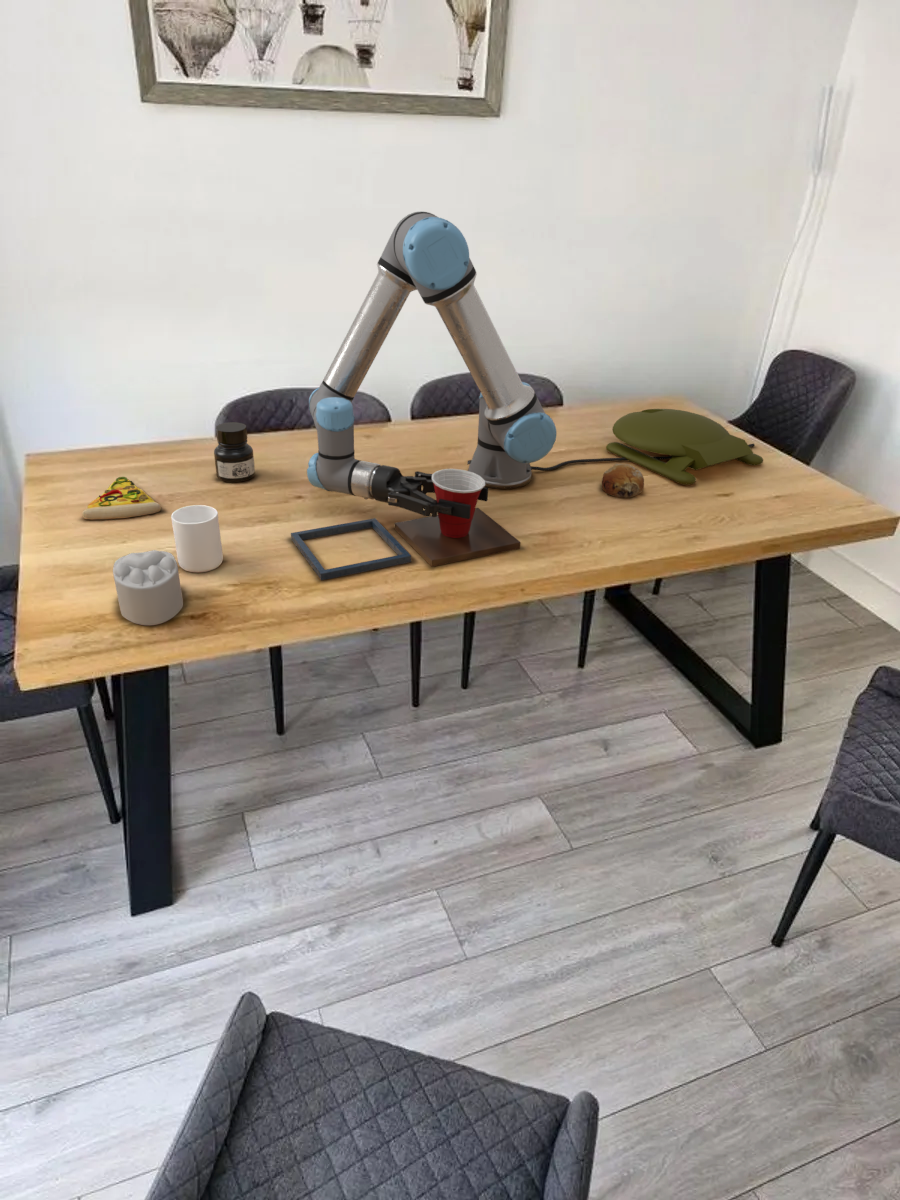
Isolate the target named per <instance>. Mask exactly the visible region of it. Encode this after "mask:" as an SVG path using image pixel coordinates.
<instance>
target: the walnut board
mask: <svg viewBox="0 0 900 1200" xmlns="http://www.w3.org/2000/svg"><path fill="white" fill-rule="evenodd" d="M393 525H394V528H393V529H394V531H395V532H397V534H399V536H401V537H402V539H403V540H404V541H405V542H406V543H407V544H409V546H410V547H411V548H412V549H413V550H414V551H415V552H416V553H417V554H418V555H419V556H420V557H421V558H422V559H423V560H424V561H425V562H426V563H427V564H428V565H429V566H430V567H432V568H433V567H437V566H442V565H448V564H452V563H457V562H462V561H467V560H472V559H476V558H481V557H485V556H491V555H495V554H499V553H504V552H509V551H514V550H519V549H521V541H520V540H519V539H517V538H516V537H515V536H513V534H511V533H510V532H509V531H508V530H506V529H505V528H504V527H503V526H502V525H500V524H499V523H497V521H495V519H493V518H491V517H490V516H489V515H488V514H487V513H485V512H484V511H483V510H482V509H481V508H479V507H476V508H475V512H474V516H473V519H472V522H471V526H470V531H469V533H468V534H467V535H466V536H464V537H461V538H451V537H447V536H445V535H443V534H442V533H441V530H440V522H439V518H438V514H437V517H432V515H430V516H424V517H419V518H413V519H409V520H404V521H397V522H394V524H393Z"/></svg>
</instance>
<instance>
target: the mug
mask: <svg viewBox="0 0 900 1200" xmlns="http://www.w3.org/2000/svg"><path fill="white" fill-rule="evenodd" d="M170 519H171V526H172V531H173V532H172V533H173V537H174V544H175V551H176V557H177V564H178V566H179V567H180V568H181V569H182V570H184V571H186V572H189V573H198V574H199V573H207V572H211V571H214V570H215V569H217V568H219V567H220V566H221V564H222V563H223V560H224V554H223V545H222V537H221V528H220V521H219V512H218V510H217V509H216V508H214V507H213V506H210V505H204V504H192V505H186V506H182V507H179V508H177V509H175V510H174V511H173V512H172V513H171V515H170Z"/></svg>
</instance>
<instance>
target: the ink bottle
mask: <svg viewBox="0 0 900 1200" xmlns="http://www.w3.org/2000/svg"><path fill="white" fill-rule="evenodd" d="M215 433H216V441H217V444H218V445H217V446H216V447H215V448H214V449H213V456H214V465H215V473H216V477H217V478H218V479H219V481H222V482H227V483H240V482H245V481H249V480H251V479H253V478H254V477H255V476H256V467H255V457H254V449H253V448H252V446H251V445H250V444H249V443H248V430H247V425H246V424H245V423H242V422H238V421H237V422H236V421H235V422H232V421H231V422H228V421H227V422H222V423H221V424H217V425H216V426H215Z"/></svg>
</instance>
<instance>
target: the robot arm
mask: <svg viewBox="0 0 900 1200" xmlns="http://www.w3.org/2000/svg"><path fill="white" fill-rule="evenodd" d="M376 266H377V267H376V268H377V270H378V271H377V272H378V273H377V274H376V276H375V278H374V280H373V281H372V284H371V286H370V287H369V290H368V291H367V294H366V296H365V297H364V300H363V302H362V304H361V305H360V307H359V310H358V311H357V313H356V315H355V317H354V319H353V320H352V323H351V325H350V327H349V329H348V331H347V333H346V335H345V337H343V338H344V339H343V341H342V342H341V344H340V347H339V348H338V349H337V352H336V354H335V356H334V358H333V360H332V362H331V364H330V365H329V368H328V370H327V372H326V373H325V375H324V378H323V380H322V382H321V383H320V385H319V387H317V388H315V389H314V390H313V391H312V392H311V393H310V396H309V398H308V410H309V414H310V416H311V418H312V420H313V423H314V427H315V429H316V434H317V435H316V436H317V446H318V447H317V448H318V451H317V452H316V453H313V455H312V456H311V457H310V458H309V461H308V463H307V465H308V467H307V468H306V475H307V480H308V482H309V483H310V485H312V486H313V487H315V488H318V489H321V490H325V491H326V492H335V493H339V494H344V495H349V496H350V495H351V496H354V497H359V498H363V499H364V500H374V501H376V502H381V503H386V504H387V505H388V506H390V507H391V506H392V507H398V508H400V509H403V510H405V511H406V510H407V511H410V512H413V513H415V514H418V515H421V516H424V517H430V516H432V517H437V515H438V513H442V514H447V515H451V516H456V517H461V518H465V519H469V518H470V512H471V505H468V504H463V503H458V502H453V501H448V500H444V499H439V503H437V500H436V498H433V497H431V496H429V495H427V494H435V489H434V483H433V482H432V474H433V473H427V472H422V471H418V470H417V471H414V476H413V475H403V474H402V473H401V470H400V468H398V467H396V466H390V465H386V464H382V465H381V464H380V463H377V462H372V461H371V462H370V461H365V460H360V459H357V458H355V452H356V451H355V415H354V405H353V400H354V398H355V397H356V394H357V393H358V390H359V389H360V387H361V386H362V383H363V381H364V380H365V378H366V376H367V374H368V372H369V370H370V368H371V367H372V364H373V363H374V361H375V359H376V357H377V355H378V353H379V352H380V350H381V348H382V346H383V345H384V342H385V341H386V339H387V337H388V335H389V333H390V331H391V329H392V328H393V325H394V324H395V322H396V320H397V318H398V316H399V314H400V313H401V310H402V309H403V307H404V305H405V303H406V302H407V299H408V298H409V296H410V295H411V293H412V292H415V291H417V292H418V294H419V296H420V297H421V300H422V301H423V303H424V304H425V305H429V306H432V307H435V309H436V311H437V313H438V315H439V317H440V318H441V319H442V322H443V324H444V326H445V329H446V330H447V331H448V333H449V336H450V337H451V339H452V341H453V343H454V344H455V346H456V348H457V350H458V352H459V354H460V356H461V358H462V360H463V362H464V364H465V366H466V368H467V369H468V371H469V373H470V375H471V378H472V379H473V381H474V383H475V384H476V386H477V388H478V390H479V392H480V393H479V396H478V399H479V406H478V426H477V427H478V428H477V443H476V448H475V450H474V453H473V455H472V459H468V460H467V461H466V462H467V464H466V465H468V469H467V471H469V472H473V473H475V474H477V475H479V476H481V477H482V478H483V479H484V480H485V486H484V487H483V488H482V490H481V492H480V494H479V497H478V500H477V501H483V502H487V501H488V500H489V488H490V489H498V490H509V489H516V488H517V489H518V488H521V487H523V486H526V485H528V484H529V483H531V480H532V471H542V472H549V471H554V470H556V469H559V468H561V467H563V466H567V465H571V464H580V463H599V462H600V463H602V462H626V461H628V460H627V459H626V458H622V457H602V458H580V459H571V460H567V461H563V462H560V463H558V464H556V465H553V466H549V467H541V466H531V464H533V463H535V462H538V461H540V460H542V459H543V458H545V457H546V456H547V455H548V454H549V453H550V452H551V451H552V449H553V447H554V445H555V442H556V440H557V427H556V424H555V422H554V420H553V419H552V418H551V416H550V415H548V414H547V413H546V412H545V410H544V408H543V406H542V404H541V402H540V400H539V398H538V396H537V393H536V392H535V390H534V388H533V387H532V386H531V384H529V383H527V382H524V381H522V380H521V378H520V375H519V374H518V371H517V369H516V367H515V365H514V363H513V361H512V360H511V357H510V355H509V353H508V351H507V349H506V347H505V345H504V343H503V341H502V338H500V335H499V333H498V331H497V329H496V327H495V325H494V323H493V320H492V319H491V317H490V315H489V313H488V310H487V308H486V307H485V304H484V303H483V300H482V299H481V296H480V295H479V293H478V290H477V288H476V286H475V280H476V278H477V274H478V273H477V270H476V268H475V266H474V263H473V262H472V260H471V258H470V249H469V245H468V242H467V239H466V237H465V236H464V234H463V232H462V231H461V230H460V229H459V227H457V226H456V225H455V224H454V223H452V222H451V221H449V220H448V219H445V218H444V217H443V218H442V217H439V216H437V215H435V214H433V213H431V212H428V211H414V212H411V213H409V214H407V215H405V216H404V217H402V218H401V219H400V220H399V222H397V224H396V226H395V227H394V228H393V231H392V233H391V234H390V236H389V238H388V240H387V243H386V245H385V247H384V249H383V251H382V253H381V255H380V257H379V259H378V261H377V264H376ZM748 446H749V447H750V448H753V447H755V446H756V445H755V443H750V444H748ZM653 457H654V458H656V459H658V460H670V459H671V458H672V457H671V455H662V456H658V455H657V456H653ZM628 462H629V461H628Z"/></svg>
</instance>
